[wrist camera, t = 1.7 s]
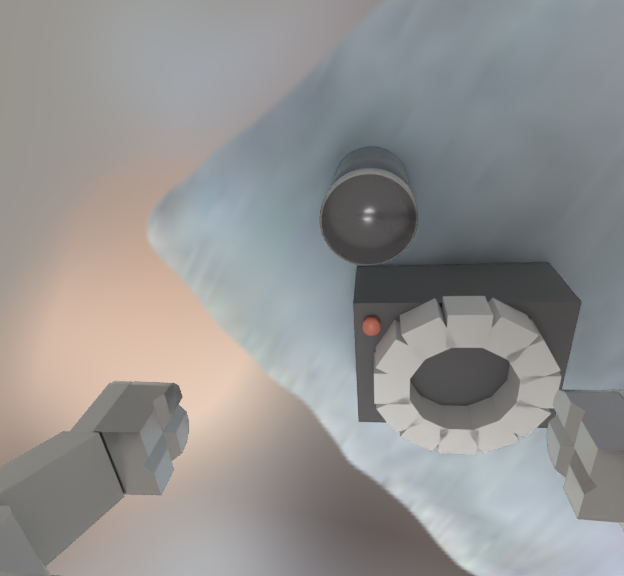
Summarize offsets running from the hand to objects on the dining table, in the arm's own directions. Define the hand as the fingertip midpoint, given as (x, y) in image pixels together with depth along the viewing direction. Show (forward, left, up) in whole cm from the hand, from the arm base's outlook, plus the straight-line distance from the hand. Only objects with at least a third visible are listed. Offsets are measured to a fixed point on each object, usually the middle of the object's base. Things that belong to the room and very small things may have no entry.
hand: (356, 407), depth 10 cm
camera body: (-5, +10, -19) cm, 22 cm away
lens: (0, 0, -20) cm, 20 cm away
